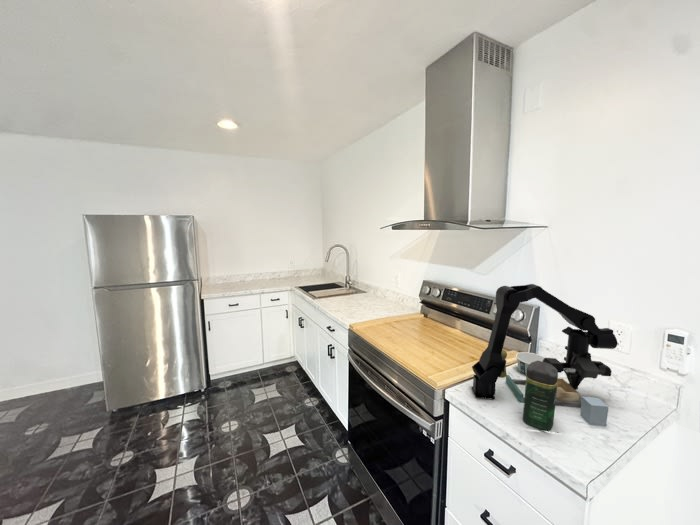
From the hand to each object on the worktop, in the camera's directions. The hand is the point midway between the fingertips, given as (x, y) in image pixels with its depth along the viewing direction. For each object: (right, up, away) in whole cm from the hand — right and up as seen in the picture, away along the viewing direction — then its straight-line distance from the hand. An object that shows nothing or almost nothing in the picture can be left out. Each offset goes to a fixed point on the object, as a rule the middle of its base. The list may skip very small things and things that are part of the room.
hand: (573, 389), depth 102 cm
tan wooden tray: (-6, -3, +1) cm, 7 cm away
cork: (-18, -2, +16) cm, 24 cm away
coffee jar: (-20, -5, -12) cm, 24 cm away
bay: (-8, -3, +2) cm, 9 cm away
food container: (-3, -1, +18) cm, 18 cm away
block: (-3, -5, -12) cm, 14 cm away
